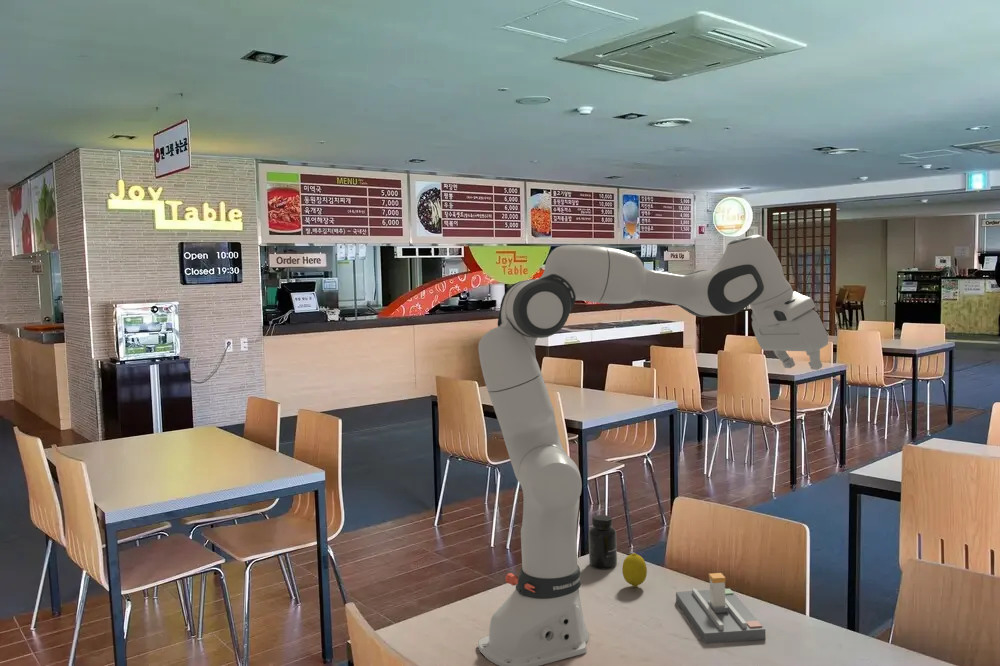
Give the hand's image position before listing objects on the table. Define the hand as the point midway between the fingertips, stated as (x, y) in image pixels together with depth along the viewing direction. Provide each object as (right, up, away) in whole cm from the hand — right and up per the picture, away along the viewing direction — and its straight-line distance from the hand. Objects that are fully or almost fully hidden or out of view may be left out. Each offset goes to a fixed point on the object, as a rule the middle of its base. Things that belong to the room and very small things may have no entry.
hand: (803, 367), depth 163 cm
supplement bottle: (-37, -51, +33) cm, 71 cm away
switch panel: (-18, -52, 0) cm, 55 cm away
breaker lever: (-18, -50, 0) cm, 53 cm away
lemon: (-32, -51, +19) cm, 63 cm away
